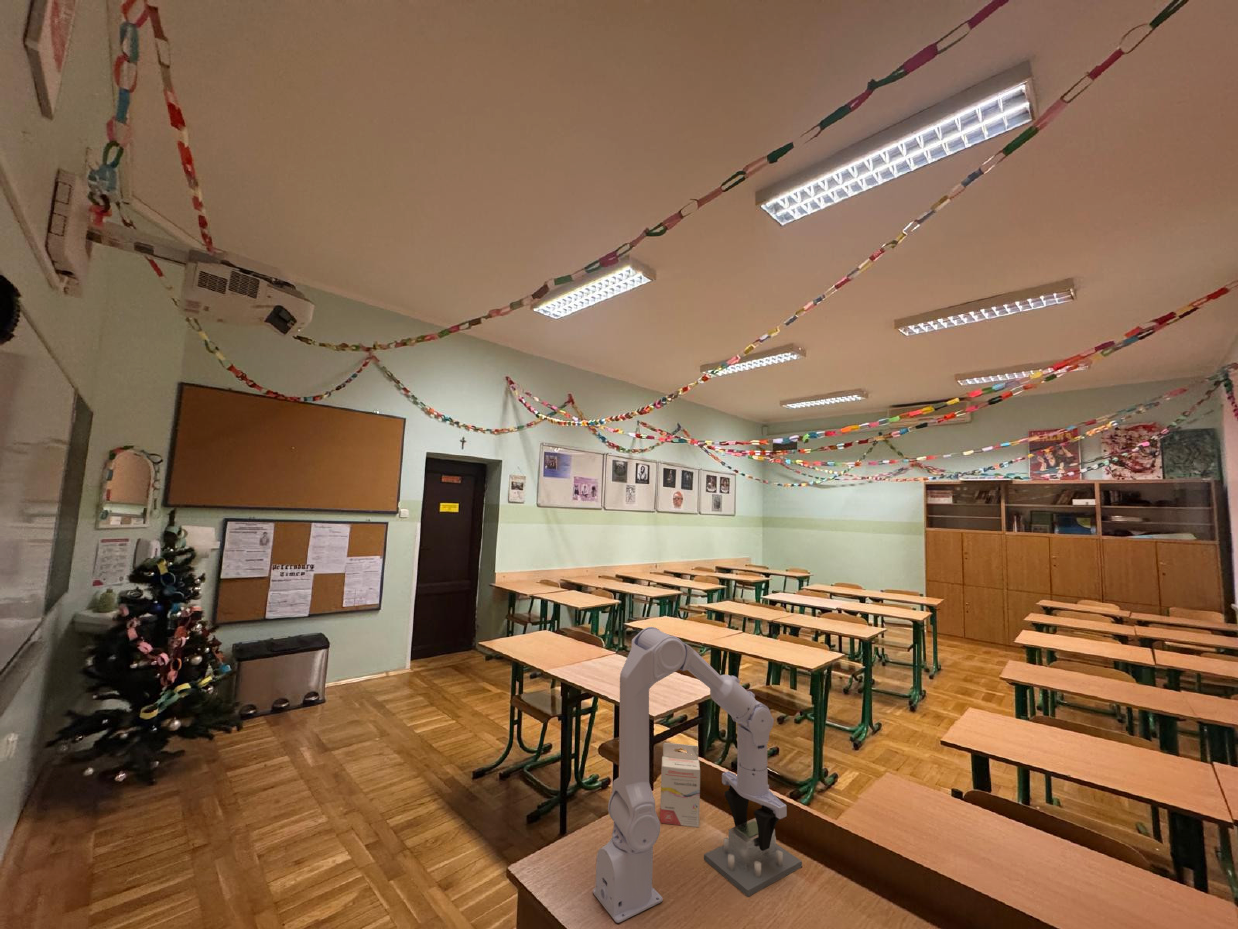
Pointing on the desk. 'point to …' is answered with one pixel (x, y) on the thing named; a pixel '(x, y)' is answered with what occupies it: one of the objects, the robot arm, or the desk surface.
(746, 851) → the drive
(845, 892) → the desk surface
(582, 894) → the desk surface
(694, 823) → the ink cartridge box
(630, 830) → the robot arm
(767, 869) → the pin tray
